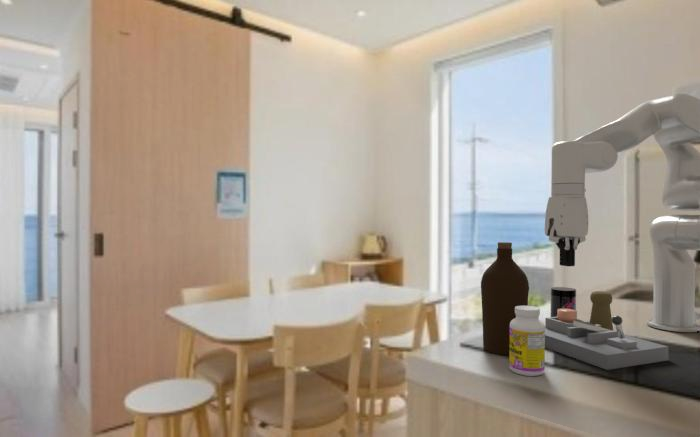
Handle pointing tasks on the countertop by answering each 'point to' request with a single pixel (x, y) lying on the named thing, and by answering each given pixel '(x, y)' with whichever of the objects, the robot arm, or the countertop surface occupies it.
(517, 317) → the supplement bottle
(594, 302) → the cork
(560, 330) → the panel
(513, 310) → the olive oil
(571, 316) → the button
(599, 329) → the rocker
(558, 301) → the supplement container
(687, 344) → the countertop surface
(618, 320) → the toggle lever
